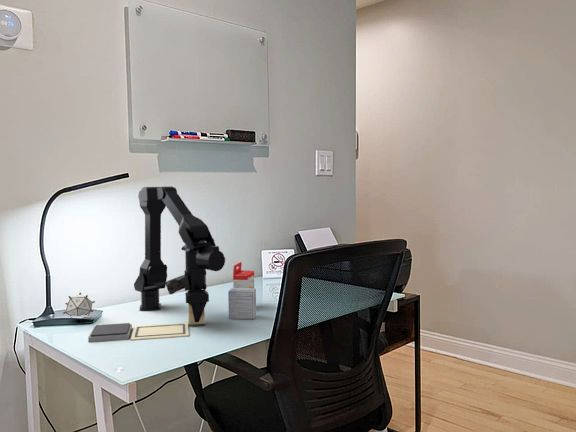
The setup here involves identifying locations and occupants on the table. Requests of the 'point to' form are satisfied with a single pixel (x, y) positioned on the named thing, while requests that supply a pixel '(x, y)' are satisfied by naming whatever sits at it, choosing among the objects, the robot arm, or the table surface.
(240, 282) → the ink box
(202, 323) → the stamp
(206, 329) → the table surface
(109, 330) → the ink pad
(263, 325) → the table surface
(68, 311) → the game die
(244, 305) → the medicine box
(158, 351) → the table surface
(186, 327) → the card sheet
